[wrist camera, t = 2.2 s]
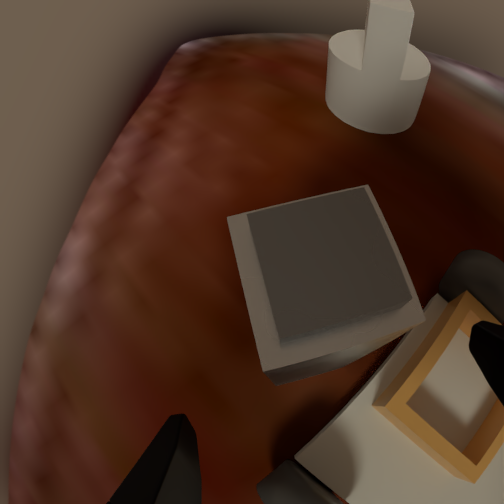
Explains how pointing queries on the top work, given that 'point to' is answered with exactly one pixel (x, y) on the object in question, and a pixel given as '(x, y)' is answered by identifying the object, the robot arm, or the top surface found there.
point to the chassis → (415, 413)
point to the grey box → (322, 282)
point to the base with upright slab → (377, 71)
